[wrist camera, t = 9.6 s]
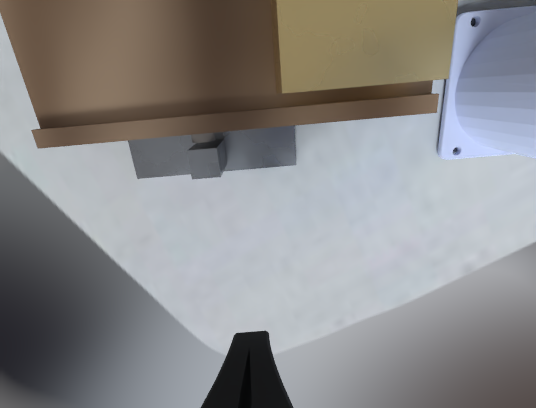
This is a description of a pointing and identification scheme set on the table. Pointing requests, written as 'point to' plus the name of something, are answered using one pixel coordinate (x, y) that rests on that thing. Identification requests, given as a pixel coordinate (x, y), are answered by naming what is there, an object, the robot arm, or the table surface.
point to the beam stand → (214, 153)
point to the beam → (171, 72)
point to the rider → (360, 42)
